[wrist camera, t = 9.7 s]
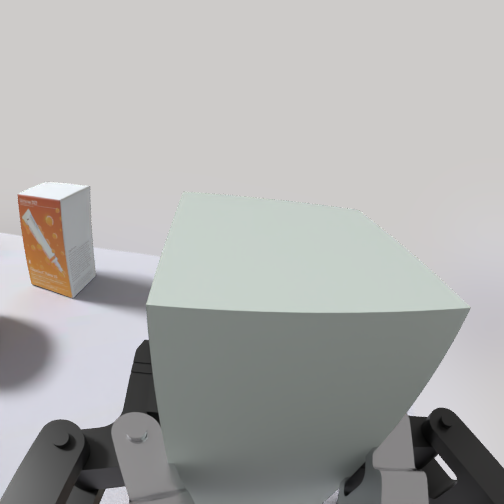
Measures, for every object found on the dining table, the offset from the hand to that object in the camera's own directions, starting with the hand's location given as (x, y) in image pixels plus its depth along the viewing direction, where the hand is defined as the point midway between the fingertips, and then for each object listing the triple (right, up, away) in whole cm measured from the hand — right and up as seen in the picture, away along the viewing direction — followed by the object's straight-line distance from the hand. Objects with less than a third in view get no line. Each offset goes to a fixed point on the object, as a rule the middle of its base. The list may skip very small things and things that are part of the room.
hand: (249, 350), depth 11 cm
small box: (-26, -1, +26) cm, 37 cm away
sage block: (0, -7, 0) cm, 7 cm away
